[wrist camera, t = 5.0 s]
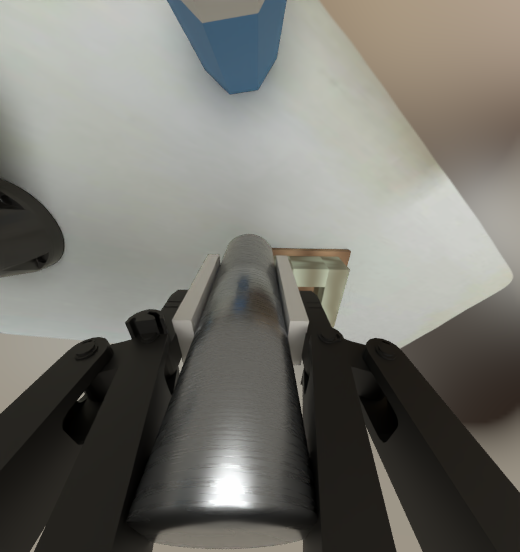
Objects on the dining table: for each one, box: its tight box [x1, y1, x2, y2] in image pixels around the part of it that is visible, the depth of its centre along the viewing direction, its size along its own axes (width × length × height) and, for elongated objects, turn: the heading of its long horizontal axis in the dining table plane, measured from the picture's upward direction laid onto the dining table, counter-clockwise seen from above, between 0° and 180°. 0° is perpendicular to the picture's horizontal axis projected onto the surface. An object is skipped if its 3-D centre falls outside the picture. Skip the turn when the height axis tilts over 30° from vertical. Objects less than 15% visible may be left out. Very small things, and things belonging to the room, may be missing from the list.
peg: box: [126, 234, 317, 549], centre depth 10 cm, size 4×4×14 cm
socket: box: [271, 248, 351, 327], centre depth 36 cm, size 16×14×6 cm
